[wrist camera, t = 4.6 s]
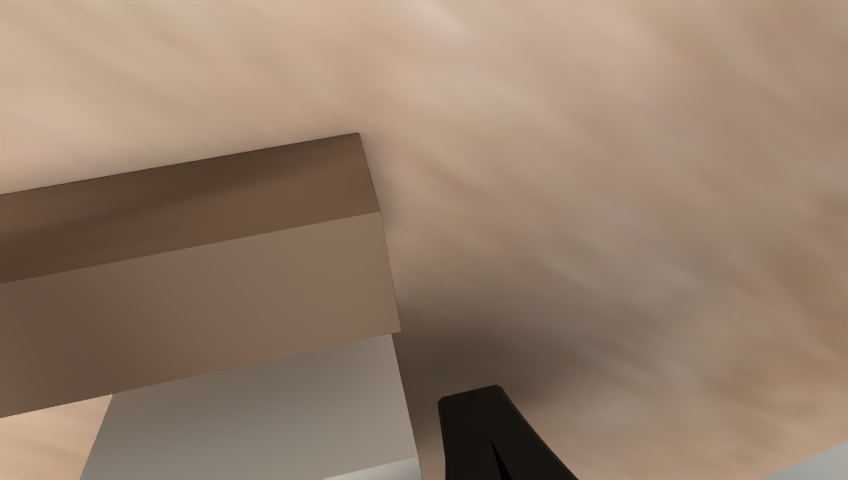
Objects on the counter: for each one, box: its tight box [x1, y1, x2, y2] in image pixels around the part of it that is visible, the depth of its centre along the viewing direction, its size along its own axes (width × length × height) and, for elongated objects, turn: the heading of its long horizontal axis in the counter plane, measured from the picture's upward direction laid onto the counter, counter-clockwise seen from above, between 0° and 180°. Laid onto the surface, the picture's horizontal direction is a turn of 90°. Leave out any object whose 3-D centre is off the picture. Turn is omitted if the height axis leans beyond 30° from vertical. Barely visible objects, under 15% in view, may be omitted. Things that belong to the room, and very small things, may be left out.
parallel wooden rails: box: [0, 133, 401, 418], centre depth 11 cm, size 8×12×3 cm, turn 7°
